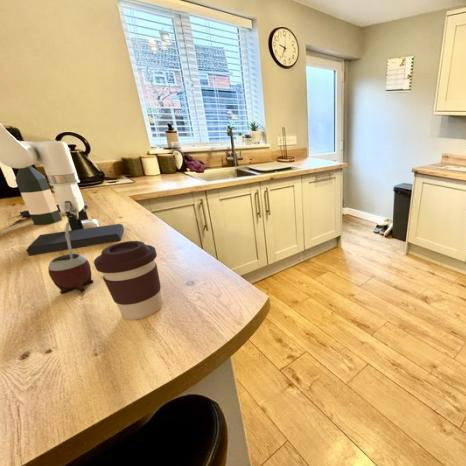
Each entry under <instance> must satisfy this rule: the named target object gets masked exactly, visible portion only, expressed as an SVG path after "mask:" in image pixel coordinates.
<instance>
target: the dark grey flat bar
mask: <svg viewBox="0 0 466 466" xmlns="http://www.w3.org/2000/svg"><path fill="white" fill-rule="evenodd" d="M124 232H125V228H124V225H123V224H122V223H116V224H109V225H101V226H98V227H93V228H86V229H79V230H71V231H69V234H70V243H71V248H72V250H73V249H78V248H84V247H89V246H96V245H102V244H109V243H115V242H122V241H121V240H122V237H123V234H124ZM65 234H66V231H64V230H63V231H58V232H57V231H56V232H49V233H44V234H39V235H38V236H37V237H36V239H34V240H33V242H31V243H30V245H28V247H27V248H26V253H27V254H28V256H30V257H31V256H34V255H35V256H36V255H41V254H47V253H53V252H54V253H55V252H60V251H66V250H69V249H68V244H67V239H66V237H65Z"/></svg>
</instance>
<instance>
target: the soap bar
mask: <svg viewBox="0 0 466 466" xmlns="http://www.w3.org/2000/svg"><path fill="white" fill-rule="evenodd" d="M88 219H89V218H88ZM81 222H82V224H83V227H84V229H86V228H93V227H99V222H98V220H97V219H94V218H90V219H89V220H83V221H81ZM66 224H67V222H66V223H65V224H64V226H63V232H64V231H66ZM69 231H71V227H70V225H69Z"/></svg>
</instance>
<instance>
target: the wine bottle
mask: <svg viewBox="0 0 466 466" xmlns="http://www.w3.org/2000/svg"><path fill="white" fill-rule="evenodd" d="M14 181H15V183H16V185H17V188H18V190H19V192H20V195H21V197H22V199H23V202H24V204H25V206H26V209H27V210H28V211H29V213H30V216H31V221H32V222H33V225H34V226H44V225H50V224H55V223H58V222H61V221H62V220H63V219H62V216H61V214H60V213H59V211H58V208H57V206H56V205H57V202H56V201H55V198H54V196H53V193H52V191H51V188H50V186H49V185H50V184H49V183H48V179H47V177H46V176H45V175H43V174H42V173H41V172H39V171H38V170H37V169H36V168H34V167H33V165H31V166H28V167H25V168H18V171H17V174H16V177H15V179H14Z"/></svg>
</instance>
